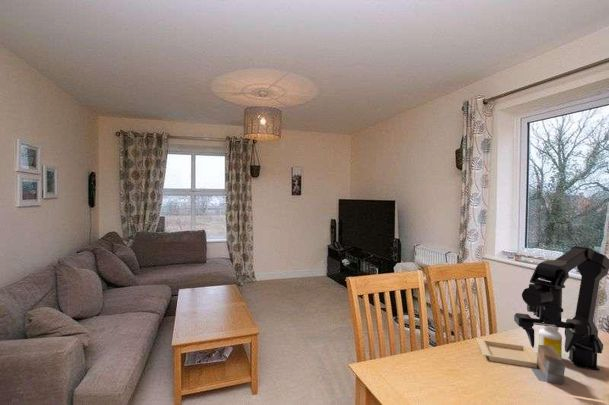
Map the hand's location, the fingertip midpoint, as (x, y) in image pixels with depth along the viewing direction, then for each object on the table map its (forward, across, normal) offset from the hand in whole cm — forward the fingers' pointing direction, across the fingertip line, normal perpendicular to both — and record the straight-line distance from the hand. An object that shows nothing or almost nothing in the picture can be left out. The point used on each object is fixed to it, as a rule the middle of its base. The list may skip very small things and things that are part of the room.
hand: (549, 349), depth 102 cm
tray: (+10, +9, -11) cm, 17 cm away
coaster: (+10, 0, 0) cm, 10 cm away
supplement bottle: (+10, -5, -14) cm, 18 cm away
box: (+8, 0, 0) cm, 8 cm away
